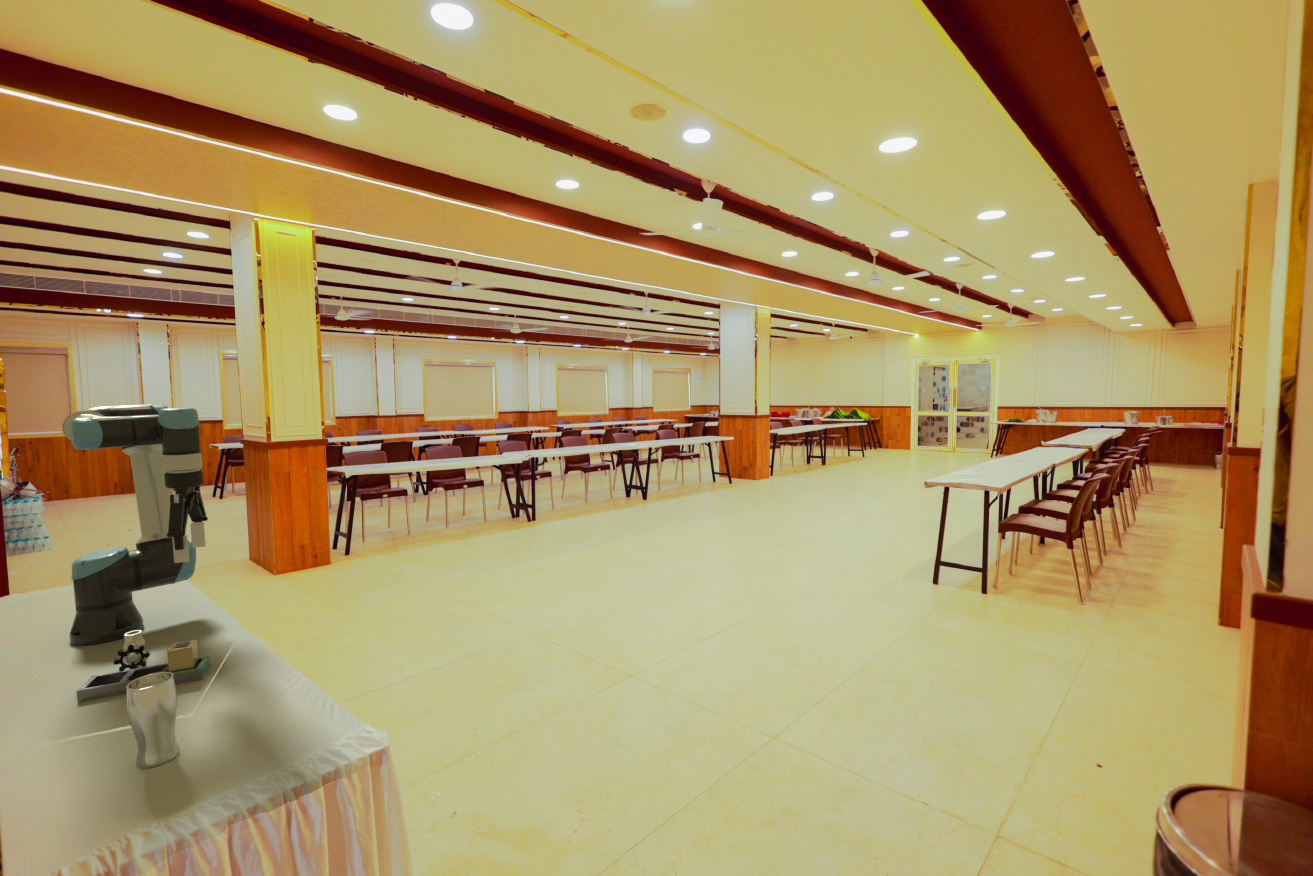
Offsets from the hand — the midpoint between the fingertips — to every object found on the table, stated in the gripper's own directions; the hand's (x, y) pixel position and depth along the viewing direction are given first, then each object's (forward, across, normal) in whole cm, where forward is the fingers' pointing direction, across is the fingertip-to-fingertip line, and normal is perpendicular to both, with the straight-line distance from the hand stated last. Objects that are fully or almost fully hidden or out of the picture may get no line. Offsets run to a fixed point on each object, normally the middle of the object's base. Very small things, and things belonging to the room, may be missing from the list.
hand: (190, 554), depth 149 cm
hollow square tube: (+25, +14, +1) cm, 29 cm away
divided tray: (+26, +14, -6) cm, 30 cm away
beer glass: (+25, +49, +6) cm, 56 cm away
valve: (+27, -2, -14) cm, 30 cm away
